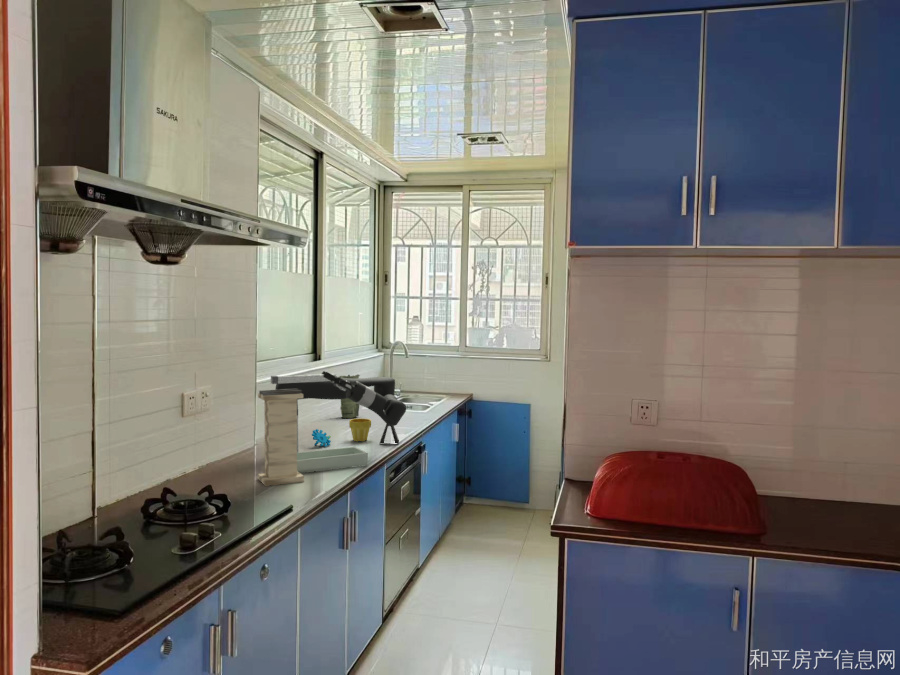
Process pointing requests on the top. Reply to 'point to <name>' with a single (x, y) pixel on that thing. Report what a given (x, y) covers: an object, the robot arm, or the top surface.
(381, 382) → the robot arm
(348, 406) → the pouch
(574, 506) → the top surface
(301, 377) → the grey metal block
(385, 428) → the pliers
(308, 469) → the tray
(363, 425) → the plant pot
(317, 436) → the gear
